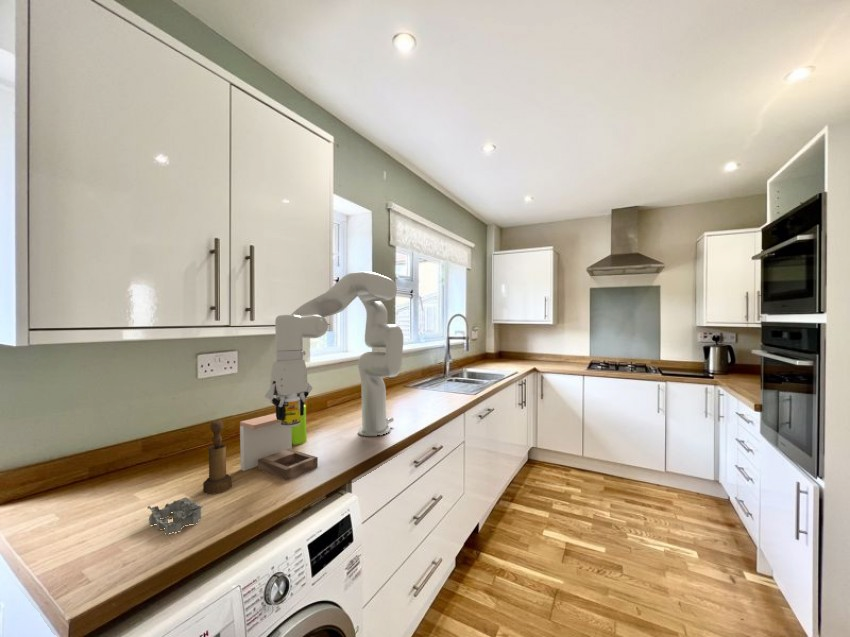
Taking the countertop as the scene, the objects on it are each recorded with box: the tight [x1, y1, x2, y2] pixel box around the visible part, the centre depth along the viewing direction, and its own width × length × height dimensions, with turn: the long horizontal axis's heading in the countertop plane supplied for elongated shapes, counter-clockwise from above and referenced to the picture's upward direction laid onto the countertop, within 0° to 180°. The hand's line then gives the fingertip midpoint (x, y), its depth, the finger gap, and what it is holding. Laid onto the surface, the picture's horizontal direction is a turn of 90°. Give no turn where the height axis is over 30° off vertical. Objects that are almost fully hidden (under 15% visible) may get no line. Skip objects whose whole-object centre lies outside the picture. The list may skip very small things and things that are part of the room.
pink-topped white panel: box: [239, 412, 301, 472], centre depth 111 cm, size 16×8×14 cm, turn 145°
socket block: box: [257, 449, 319, 481], centre depth 106 cm, size 11×14×3 cm
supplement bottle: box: [280, 393, 300, 427], centre depth 105 cm, size 6×6×10 cm
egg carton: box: [147, 496, 203, 535], centre depth 78 cm, size 11×8×4 cm
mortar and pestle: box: [202, 419, 233, 495], centre depth 94 cm, size 7×6×18 cm
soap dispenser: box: [291, 404, 307, 446], centre depth 130 cm, size 6×7×20 cm
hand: (290, 416), depth 105 cm, fingers closed on supplement bottle, 5 cm apart
